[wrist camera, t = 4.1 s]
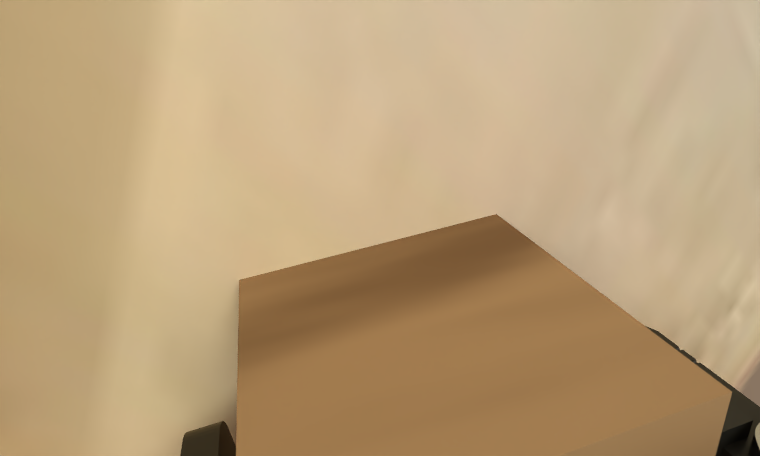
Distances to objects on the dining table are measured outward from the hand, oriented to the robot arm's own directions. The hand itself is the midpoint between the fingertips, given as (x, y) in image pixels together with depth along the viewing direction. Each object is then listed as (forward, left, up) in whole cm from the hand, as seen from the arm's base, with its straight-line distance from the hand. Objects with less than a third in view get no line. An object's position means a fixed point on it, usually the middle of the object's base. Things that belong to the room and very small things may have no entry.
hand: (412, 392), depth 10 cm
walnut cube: (0, 0, -2) cm, 2 cm away
